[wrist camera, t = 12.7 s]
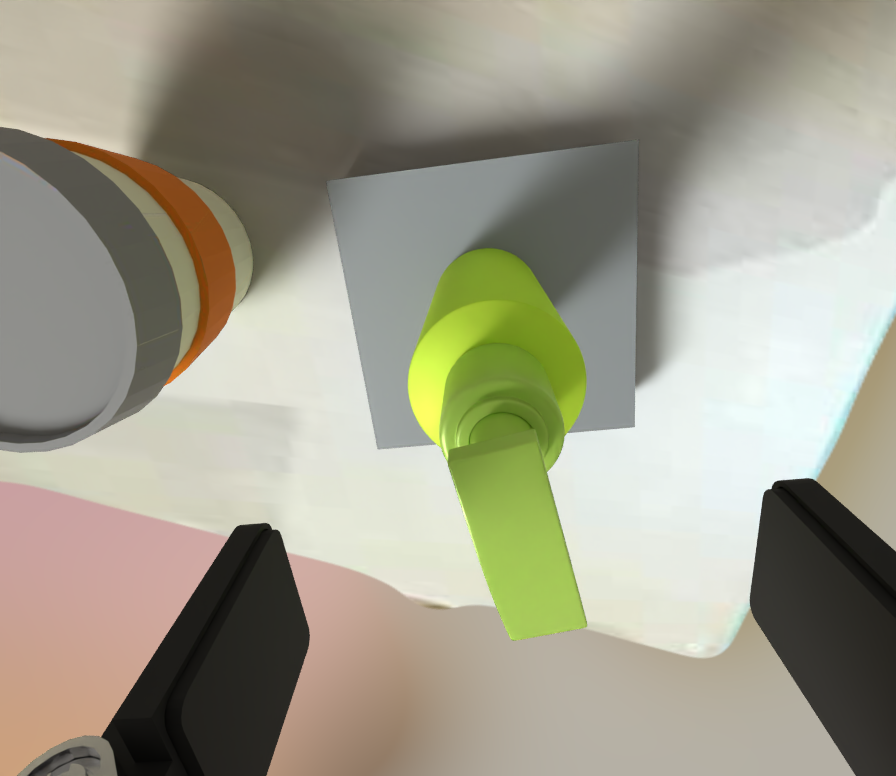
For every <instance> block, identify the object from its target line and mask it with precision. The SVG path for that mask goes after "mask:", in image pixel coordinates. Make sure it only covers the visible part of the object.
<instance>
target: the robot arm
mask: <svg viewBox="0 0 896 776" xmlns="http://www.w3.org/2000/svg"><path fill="white" fill-rule="evenodd" d="M750 607H751V611H752V614H753V616H754V618H755V620H756V622H757V623H758V625H759V626H760V628H761V629H762V631H763V632H764V634H765V636H766V637H767V639H768V640H769V642H770V643H771V645H772V647H773V648H774V649H775V651H776V653H777V654H778V656H779V657H780V659H781V660H782V662H783V664H784V665H785V667H786V668H787V670H788V671H789V673H790V674H791V676H792V677H793V679H794V680H795V682H796V684H797V685H798V687H799V688H800V690H801V691H802V693H803V695H804V696H805V698H806V699H807V701H808V702H809V704H810V705H811V707H812V708H813V710H814V712H815V713H816V715H817V716H818V718H819V719H820V721H821V722H822V724H823V725H824V727H825V729H826V730H827V732H828V733H829V735H830V736H831V738H832V739H833V741H834V743H835V744H836V745H837V747H838V749H839V750H840V752H841V753H842V755H843V756H844V758H845V760H846V761H847V763H848V764H849V766H850V767H851V769H852V770H853V772H854V774H855V775H856V776H896V551H894V550H893V549H892V548H891V547H890V546H889V545H888V544H887V543H885V542H884V541H883V540H882V539H881V538H880V537H879V536H878V535H876V534H875V533H874V532H873V531H872V530H871V529H869V528H868V527H867V526H866V525H865V524H864V523H863V522H862V521H861V520H859V519H858V518H857V517H856V516H855V515H854V514H852V512H850V511H849V510H848V509H847V508H846V507H845V506H844V505H842V504H841V503H840V502H839V501H838V500H837V499H836V498H835V497H833V496H832V495H831V494H830V493H829V492H828V491H827V490H826V489H824V488H823V487H822V486H821V485H820V484H819V483H818V482H816V481H815V480H813V479H809V478H805V479H793V480H781V481H777V482H775V483H774V484H773V486H772V489H768V490H766V491H765V492H764V495H763V501H762V509H761V516H760V524H759V532H758V539H757V547H756V555H755V562H754V570H753V577H752V585H751V593H750ZM309 638H310V634H309V627H308V624H307V621H306V617H305V614H304V611H303V607H302V604H301V600H300V597H299V594H298V590H297V587H296V584H295V580H294V577H293V573H292V570H291V567H290V564H289V560H288V557H287V553H286V550H285V547H284V543H283V540H282V537H281V534H280V532H279V531H278V530H272V528H271V526H270V525H269V524H267V523H261V524H249V525H239V526H237V527H236V528H235V529H234V531H233V532H232V534H231V535H230V537H229V539H228V540H227V542H226V543H225V545H224V546H223V548H222V549H221V551H220V553H219V554H218V556H217V557H216V559H215V560H214V562H213V564H212V565H211V567H210V568H209V570H208V571H207V573H206V574H205V576H204V578H203V579H202V581H201V582H200V584H199V585H198V587H197V588H196V590H195V592H194V593H193V595H192V596H191V598H190V599H189V601H188V602H187V604H186V606H185V607H184V609H183V610H182V612H181V614H180V615H179V616H178V618H177V619H176V621H175V623H174V624H173V626H172V627H171V629H170V630H169V632H168V633H167V635H166V637H165V638H164V640H163V641H162V643H161V644H160V646H159V647H158V649H157V651H156V652H155V654H154V655H153V657H152V658H151V660H150V661H149V663H148V665H147V666H146V668H145V669H144V671H143V672H142V674H141V675H140V677H139V679H138V680H137V682H136V683H135V685H134V686H133V688H132V689H131V691H130V692H129V694H128V696H127V697H126V699H125V701H124V702H123V703H122V705H121V707H120V708H119V710H118V711H117V713H116V714H115V716H114V718H113V719H112V721H111V722H110V724H109V725H108V727H107V729H106V730H105V732H104V733H103V735H102V737H99V736H82V737H78V738H74V739H70V740H67V741H65V742H63V743H61V744H59V745H57V746H55V747H53V748H51V749H49V750H48V751H46V752H45V753H44V754H42V755H41V756H39V757H38V758H36V759H35V760H33V761H32V762H31V763H30V764H29V765H28V766H27V767H26V768H25V769H24V770H23V771H21V772H20V773H19V774H18V775H17V776H266V775H267V772H268V769H269V766H270V763H271V760H272V757H273V754H274V751H275V747H276V745H277V742H278V739H279V735H280V732H281V729H282V726H283V723H284V720H285V717H286V714H287V711H288V708H289V705H290V702H291V699H292V696H293V693H294V690H295V687H296V683H297V680H298V678H299V675H300V672H301V668H302V665H303V662H304V659H305V656H306V653H307V650H308V646H309Z"/></svg>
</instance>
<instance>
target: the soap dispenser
mask: <svg viewBox="0 0 896 776" xmlns="http://www.w3.org/2000/svg"><path fill="white" fill-rule="evenodd" d="M586 385H587V376H586V368H585V363H584V359H583V356H582V353H581V351H580V348H579V346H578V344H577V343H576V341H575V339H574V338H573V336H572V334H571V333H570V331H569V330H568V328H567V326H566V325H565V323H564V322H563V320H562V318H561V317H560V315H559V314H558V312H557V311H556V309H555V307H554V306H553V304H552V303H551V301H550V299H549V298H548V296H547V295H546V293H545V291H544V290H543V288H542V287H541V285H540V284H539V282H538V280H537V279H536V277H535V276H534V274H533V272H532V271H531V269H530V268H529V267H528V266H527V265H526V264H525V263H524V262H523V261H522V260H521V259H520V258H518V257H517V256H515V255H513V254H512V253H509V252H507V251H504V250H500V249H494V248H483V249H477V250H473V251H470V252H467V253H465V254H463V255H462V256H460V257H458V258H457V259H456V260H454V261H453V262H452V263H451V264H450V265H449V266H448V267H447V268H446V270H445V271H444V273H443V274H442V276H441V278H440V280H439V282H438V285H437V288H436V291H435V294H434V297H433V299H432V302H431V305H430V308H429V311H428V314H427V317H426V319H425V322H424V325H423V328H422V331H421V334H420V337H419V339H418V342H417V345H416V348H415V351H414V354H413V357H412V360H411V363H410V367H409V373H408V394H409V400H410V404H411V407H412V410H413V413H414V415H415V417H416V419H417V421H418V423H419V425H420V426H421V428H422V429H423V430H424V432H425V433H426V434H427V435H428V436H429V438H430V439H431V440H432V441H434V442H435V443H436V444H437V445H438V446H439V447H441V449H442V452H443V454H444V457H445V459H446V460H447V462H448V467H449V470H450V473H451V476H452V479H453V482H454V485H455V488H456V492H457V495H458V498H459V501H460V504H461V507H462V510H463V513H464V516H465V519H466V523H467V526H468V529H469V532H470V535H471V538H472V541H473V544H474V547H475V550H476V553H477V556H478V559H479V562H480V565H481V567H482V570H483V573H484V576H485V579H486V581H487V584H488V587H489V590H490V592H491V595H492V597H493V600H494V603H495V605H496V607H497V610H498V612H499V614H500V617H501V619H502V621H503V624H504V626H505V628H506V630H507V632H508V634H509V637H510V638H511V640H513V641H514V640H522V639H527V638H532V637H537V636H543V635H549V634H554V633H560V632H564V631H570V630H575V629H581V628H585V627H587V621H586V617H585V613H584V609H583V606H582V602H581V598H580V594H579V591H578V587H577V583H576V579H575V576H574V572H573V568H572V564H571V560H570V557H569V553H568V549H567V546H566V542H565V538H564V534H563V531H562V527H561V523H560V519H559V516H558V512H557V508H556V505H555V501H554V497H553V493H552V490H551V486H550V482H549V479H548V475H547V471H548V470H549V469H550V468H551V467H552V466H553V465H554V463H555V462H556V460H557V459H558V457H559V455H560V453H561V450H562V447H563V443H564V436H565V435H566V434H567V433H568V431H569V430H570V429H571V427H572V426H573V424H574V423H575V421H576V419H577V418H578V416H579V414H580V411H581V409H582V406H583V403H584V399H585V394H586Z"/></svg>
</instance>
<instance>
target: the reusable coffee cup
mask: <svg viewBox="0 0 896 776" xmlns="http://www.w3.org/2000/svg"><path fill="white" fill-rule="evenodd" d="M252 273H253V254H252V249H251V244H250V240H249V238H248V235H247V233H246V230H245V228H244V226H243V224H242V223H241V221H240V219H239V218H238V216H237V215H236V213H235V212H234V211H233V210H232V209H231V207H230V206H229V205H228V204H227V203H226V202H225V201H224V200H223V199H222V198H220V197H219V196H218V195H217V194H215V193H214V192H213V191H211V190H209V189H207V188H206V187H204V186H202V185H200V184H198V183H195V182H192V181H189V180H186V179H182V178H178V177H176V176H174V175H172V174H170V173H169V172H167V171H165V170H163V169H161V168H160V167H158V166H156V165H153V164H150V163H147V162H144V161H142V160H139V159H136V158H132V157H129V156H125V155H121V154H118V153H114V152H110V151H107V150H103V149H99V148H96V147H92V146H88V145H85V144H81V143H77V142H72V141H65V140H57V139H50V138H42V137H39V136H36V135H33V134H30V133H27V132H24V131H21V130H18V129H11V128H4V127H0V450H4V451H12V452H20V453H22V452H44V451H51V450H55V449H59V448H63V447H67V446H71V445H73V444H75V443H77V442H79V441H81V440H83V439H85V438H87V437H89V436H91V435H93V434H95V433H97V432H99V431H101V430H103V429H105V428H107V427H109V426H111V425H113V424H115V423H117V422H119V421H121V420H123V419H125V418H127V417H129V416H131V415H133V414H135V413H137V412H139V411H140V410H141V409H142V408H144V407H145V406H146V405H147V404H148V403H149V402H151V401H152V400H153V399H154V398H155V397H156V396H157V395H158V394H159V392H160V391H161V389H162V388H163V387H164V386H165V385H167V384H169V383H171V382H172V381H173V380H174V379H175V378H176V377H178V376H179V375H180V374H181V373H182V372H183V371H185V370H186V369H187V368H188V367H189V366H190V364H191V363H192V362H193V361H194V360H195V359H196V358H197V357H198V356H199V355H200V354H201V353H202V352H203V351H204V350H205V349H206V348H207V347H208V346H209V345H210V343H211V342H212V341H213V340H214V339H215V338H216V337H217V336H218V334H219V333H220V331H221V330H222V329H223V327H224V326H225V324H226V323H227V320H228V318H229V315H230V313H231V311H232V310H233V309H234V308H235V307H236V306H237V305H238V304H239V303H240V302H241V300H242V299H243V297H244V296H245V295H246V293H247V290H248V288H249V285H250V283H251V278H252Z"/></svg>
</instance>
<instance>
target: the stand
mask: <svg viewBox="0 0 896 776" xmlns="http://www.w3.org/2000/svg"><path fill="white" fill-rule="evenodd" d="M638 156H639V140H632V141H624V142H617V143H609V144H601V145H594V146H586V147H579V148H571V149H564V150H556V151H548V152H541V153H533V154H526V155H518V156H511V157H503V158H495V159H488V160H480V161H473V162H465V163H458V164H450V165H442V166H435V167H427V168H420V169H412V170H405V171H397V172H389V173H382V174H374V175H367V176H359V177H352V178H344V179H336V180H329V181H326V184H327V189H328V194H329V200H330V205H331V210H332V215H333V220H334V226H335V231H336V236H337V241H338V246H339V251H340V257H341V262H342V267H343V272H344V277H345V282H346V288H347V293H348V298H349V303H350V308H351V314H352V319H353V324H354V329H355V334H356V339H357V345H358V350H359V355H360V360H361V365H362V371H363V376H364V381H365V386H366V391H367V396H368V402H369V407H370V412H371V417H372V422H373V427H374V433H375V438H376V443H377V448H378V449H388V448H400V447H411V446H423V445H434V444H436V443H435V442H434V441H432V440H431V439H430V438H429V436H428V435H427V434H426V433H425V432H424V430H423V429H422V428H421V426H420V425H419V423H418V421H417V419H416V417H415V415H414V413H413V410H412V407H411V404H410V400H409V394H408V373H409V367H410V363H411V360H412V357H413V354H414V351H415V348H416V345H417V342H418V339H419V337H420V334H421V331H422V328H423V325H424V322H425V319H426V317H427V314H428V311H429V308H430V305H431V302H432V299H433V297H434V294H435V291H436V288H437V285H438V282H439V280H440V278H441V276H442V274H443V273H444V271H445V270H446V268H447V267H448V266H449V265H450V264H451V263H452V262H453V261H454V260H456V259H457V258H458V257H460V256H462V255H463V254H465V253H467V252H470V251H473V250H477V249H483V248H494V249H500V250H504V251H507V252H509V253H512V254H513V255H515V256H517V257H518V258H520V259H521V260H522V261H523V262H524V263H525V264H526V265H527V266H528V267H529V268H530V269H531V271H532V272H533V274H534V276H535V277H536V279H537V280H538V282H539V284H540V285H541V287H542V288H543V290H544V291H545V293H546V295H547V296H548V298H549V299H550V301H551V303H552V304H553V306H554V307H555V309H556V311H557V312H558V314H559V315H560V317H561V318H562V320H563V322H564V323H565V325H566V326H567V328H568V330H569V331H570V333H571V334H572V336H573V338H574V339H575V341H576V343H577V344H578V346H579V348H580V351H581V353H582V356H583V359H584V363H585V368H586V376H587V385H586V394H585V399H584V403H583V406H582V409H581V411H580V414H579V416H578V418H577V419H576V421H575V423H574V424H573V426H572V427H571V429H570V430H569V431H568V433H573V432H584V431H596V430H607V429H619V428H630V427H635V363H636V294H637V225H638Z"/></svg>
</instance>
